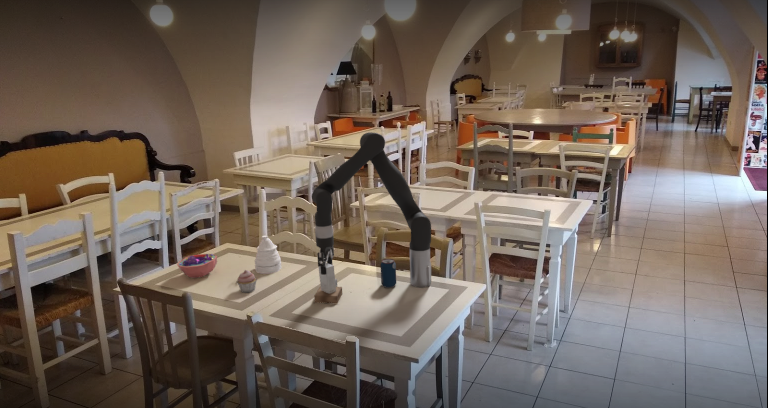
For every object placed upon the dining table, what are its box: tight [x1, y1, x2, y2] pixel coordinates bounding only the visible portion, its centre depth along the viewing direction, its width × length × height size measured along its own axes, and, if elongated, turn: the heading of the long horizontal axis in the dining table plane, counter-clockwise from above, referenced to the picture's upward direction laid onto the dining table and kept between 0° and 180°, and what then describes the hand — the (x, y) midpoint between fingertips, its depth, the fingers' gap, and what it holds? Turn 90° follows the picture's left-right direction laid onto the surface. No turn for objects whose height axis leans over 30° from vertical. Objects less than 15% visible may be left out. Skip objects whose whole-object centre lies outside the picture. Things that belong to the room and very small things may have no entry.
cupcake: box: [236, 269, 258, 294], centre depth 254 cm, size 9×9×10 cm
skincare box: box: [317, 262, 336, 294], centre depth 241 cm, size 6×4×12 cm
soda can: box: [380, 258, 397, 289], centre depth 254 cm, size 7×7×12 cm
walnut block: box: [313, 285, 343, 304], centre depth 243 cm, size 10×10×4 cm
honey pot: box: [254, 235, 282, 275], centre depth 279 cm, size 13×13×18 cm
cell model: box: [176, 253, 218, 279], centre depth 275 cm, size 17×20×11 cm
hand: (326, 270), depth 240 cm, fingers open, 8 cm apart
